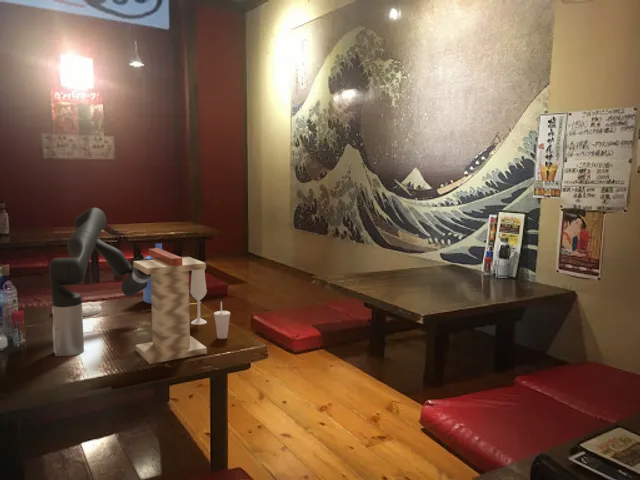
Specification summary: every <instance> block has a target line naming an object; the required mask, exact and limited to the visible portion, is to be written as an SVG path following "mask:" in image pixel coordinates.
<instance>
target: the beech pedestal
mask: <svg viewBox="0 0 640 480" xmlns="http://www.w3.org/2000/svg"><path fill="white" fill-rule="evenodd" d="M180 257H181V258H182V265H180V266H171V265H168V264H166V263H164V262H162V261H160V260H158V259H155V260H142V261H133V264H134V267H135V268H136V269H138V270H140V271H142V272H144V273H145V274H151V300H152V304H151V334H152V337H151V338H152V342H145V343H139V344H135V351H136V352H137V353H138V354H139V355H140V356H141V357H142V358H143V359H144V360H145V361H146V362H147V363H148V364H149V365H151V364H157V363H162V362H167V361H173V360H179V359H184V358H188V357H189V358H190V357H194V356H199V355H204V354H205V355H206V354H207V353H208V348H207V346H205V345H204V344H202V343H201V342H199V341H198V340H197V339H195V338H194V337H193V336H191V333H190V331H191V330H190V327H191V326H190V325H191V324H190V323H191V322H190V321H191V319H190V274H189V273H190V271H192V270H201V269H204V270H206V269H207V263H206V262H205V261H201V260H199V259H195V258H193V257H191V256H180Z"/></svg>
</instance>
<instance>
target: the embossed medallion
mask: <svg viewBox="0 0 640 480" xmlns="http://www.w3.org/2000/svg"><path fill="white" fill-rule="evenodd" d="M101 311H102V306H101V304H100V303H98V302H94V301H93V302H92V301H89V302H88V301H87V302H82V316H83V317H89V315H97V314H99V313H100V312H101ZM96 313H97V314H96ZM52 314H53V309H52Z"/></svg>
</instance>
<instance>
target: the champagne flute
mask: <svg viewBox="0 0 640 480" xmlns="http://www.w3.org/2000/svg"><path fill="white" fill-rule="evenodd" d="M205 271H206V270H205V269H201V270H191V280H190V289H189V294H190V295H191V296H192V298H193V299H195V300H196V303H197V305H196V306H197V308H196V309H197V313H196V315H197V317H196V318H195V319H194V320H192V321H191V322H190V323H191V324H190V325H206V324H207V323H208V322H207V320H205V319H203V318H201V300H202V299H203V298H204V297H205V296H206V295H207V291H208V289H207V282H206V273H205Z"/></svg>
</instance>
